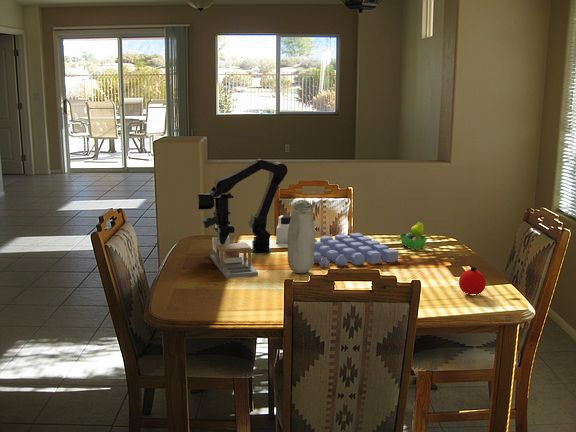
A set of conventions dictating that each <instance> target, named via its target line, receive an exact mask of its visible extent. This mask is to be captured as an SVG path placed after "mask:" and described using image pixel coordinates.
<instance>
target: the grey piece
mask: <svg viewBox="0 0 576 432" xmlns="http://www.w3.org/2000/svg"><path fill="white" fill-rule="evenodd" d="M219 251H220V257H219ZM230 251H239V257H242V260H243V262H240V263H227V264H225V263H224V262H223V252H230ZM242 251H243V255H242V254H241V253H240V252H242ZM209 257H210V259H211V260H212V262H213V263H214V264H215V266H216V267H217V268H218V270H219V271H220V273H222V275H223V276H224V277H225V279H238V278H248V277H259V271H257V269H256V268H255V267H254V266H253V264H252V246H250V245H249V244H248V243H247V242H237V243H234V242H233V243H230V244H218V245H216V252H215V253H210V256H209Z"/></svg>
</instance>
